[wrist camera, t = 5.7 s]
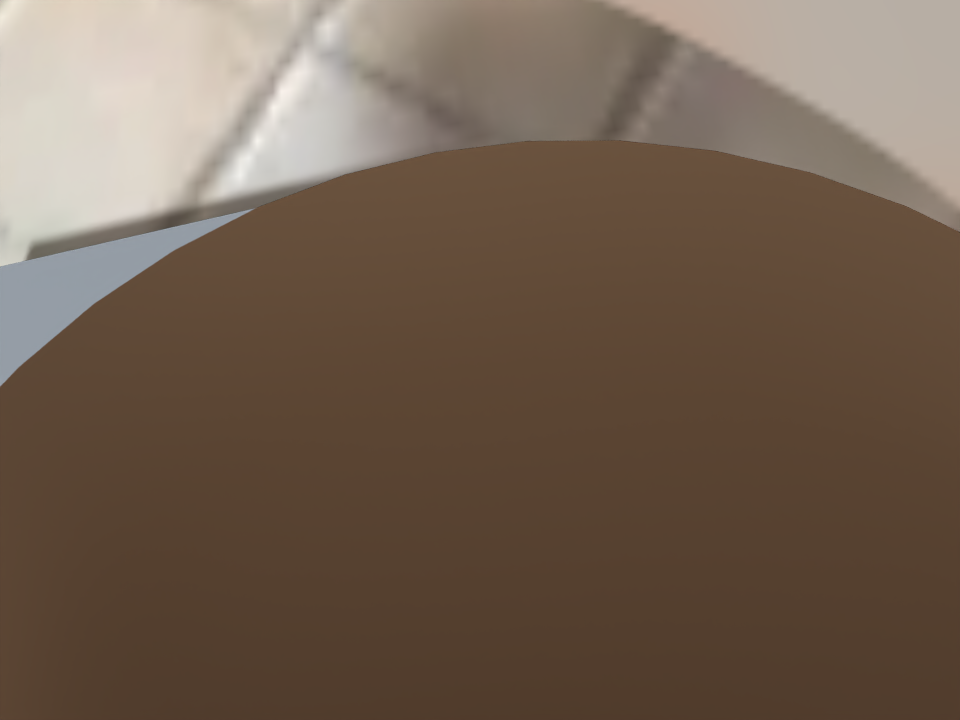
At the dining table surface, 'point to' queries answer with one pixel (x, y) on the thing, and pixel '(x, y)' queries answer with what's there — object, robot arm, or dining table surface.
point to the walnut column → (501, 455)
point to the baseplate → (76, 285)
